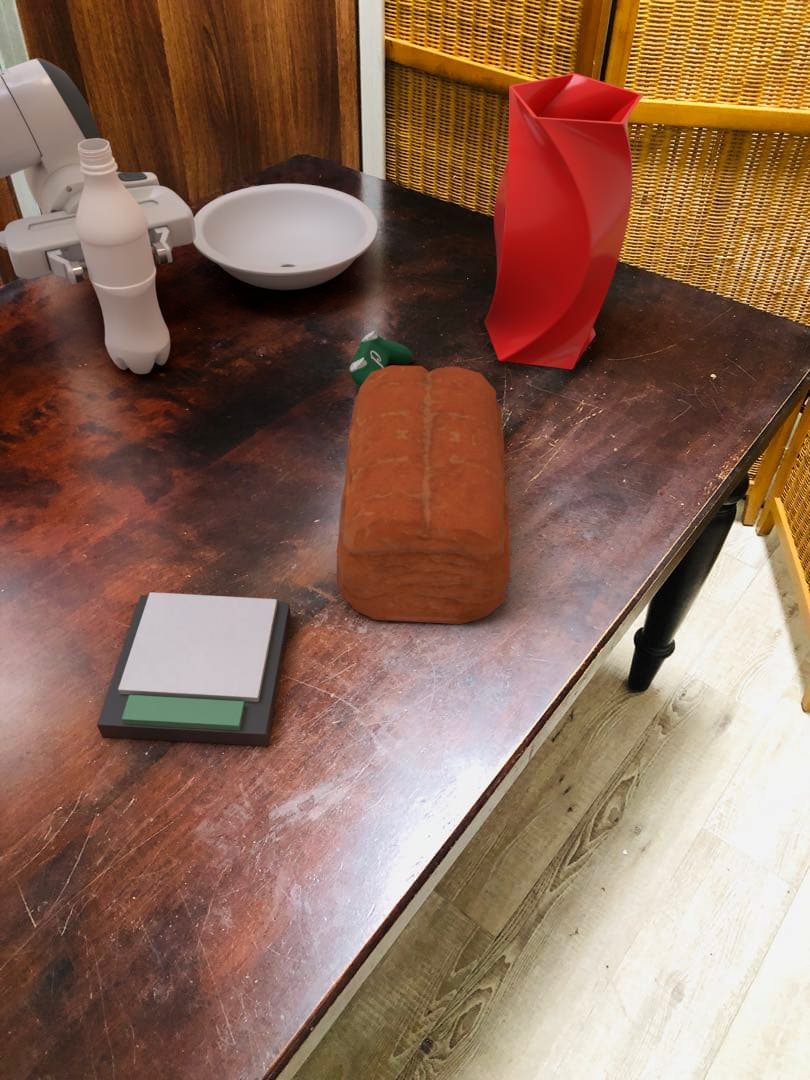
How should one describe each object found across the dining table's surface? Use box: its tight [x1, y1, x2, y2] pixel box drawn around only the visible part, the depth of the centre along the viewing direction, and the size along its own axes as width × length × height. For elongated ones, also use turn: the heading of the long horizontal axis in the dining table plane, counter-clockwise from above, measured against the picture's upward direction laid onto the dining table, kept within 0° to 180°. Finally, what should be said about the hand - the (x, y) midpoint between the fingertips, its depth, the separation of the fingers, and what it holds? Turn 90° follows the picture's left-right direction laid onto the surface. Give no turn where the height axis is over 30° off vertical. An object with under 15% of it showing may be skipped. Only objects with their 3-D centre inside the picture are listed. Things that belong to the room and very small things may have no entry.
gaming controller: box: [349, 330, 414, 388], centre depth 101 cm, size 9×4×6 cm
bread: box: [336, 364, 511, 625], centre depth 82 cm, size 16×27×11 cm, turn 178°
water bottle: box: [76, 138, 171, 375], centre depth 94 cm, size 7×7×25 cm
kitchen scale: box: [96, 591, 292, 747], centre depth 72 cm, size 13×13×2 cm
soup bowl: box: [192, 183, 379, 291], centre depth 115 cm, size 24×24×7 cm
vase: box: [483, 72, 644, 370], centre depth 99 cm, size 15×14×28 cm
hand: (122, 267), depth 93 cm, fingers open, 8 cm apart
